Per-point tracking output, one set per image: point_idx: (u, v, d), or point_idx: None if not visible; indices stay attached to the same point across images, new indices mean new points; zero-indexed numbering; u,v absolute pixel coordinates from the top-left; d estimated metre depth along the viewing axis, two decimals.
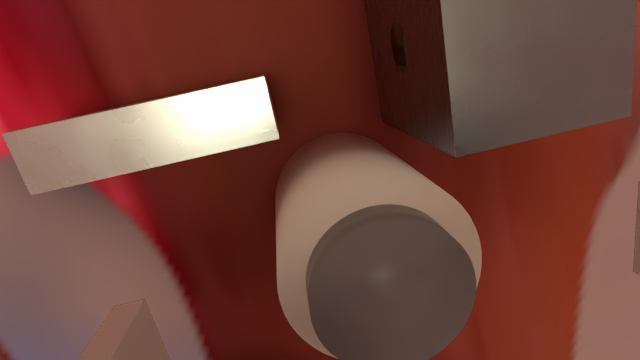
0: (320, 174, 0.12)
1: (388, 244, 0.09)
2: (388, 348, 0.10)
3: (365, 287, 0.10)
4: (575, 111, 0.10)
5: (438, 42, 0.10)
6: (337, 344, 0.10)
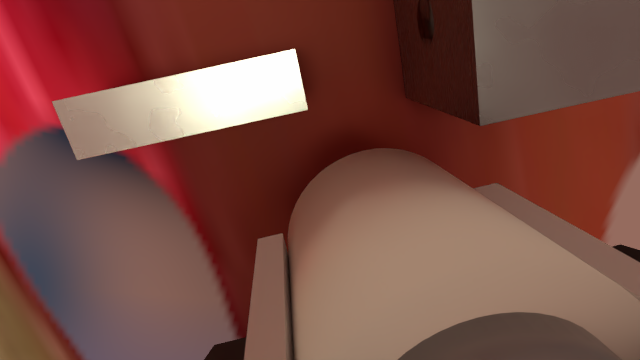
0: (370, 235, 0.07)
1: None
2: None
3: None
4: (599, 82, 0.10)
5: (466, 13, 0.10)
6: None
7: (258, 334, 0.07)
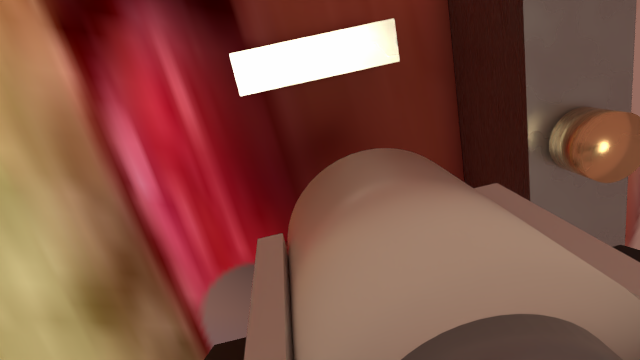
0: (371, 236, 0.07)
1: None
2: None
3: None
4: None
5: None
6: None
7: (258, 334, 0.07)
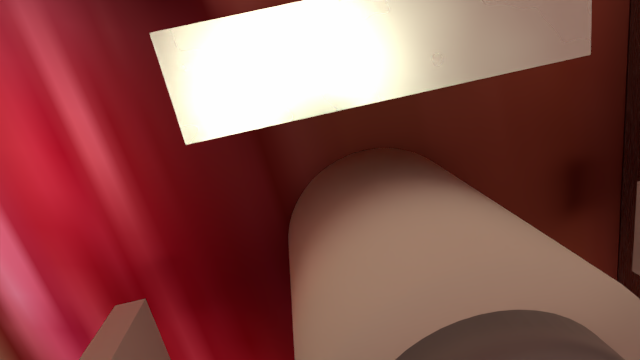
0: (370, 234, 0.07)
1: None
2: None
3: None
4: None
5: None
6: None
7: None
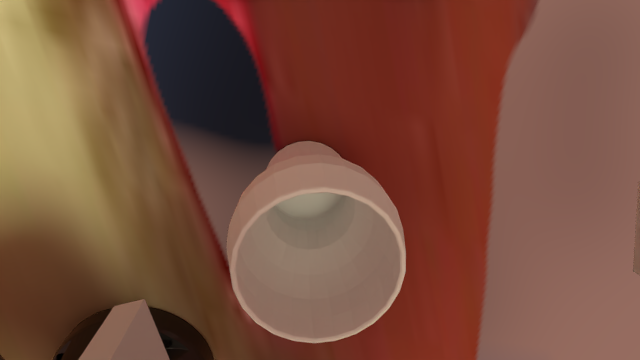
0: None
1: None
2: None
3: None
4: None
5: None
6: None
7: None
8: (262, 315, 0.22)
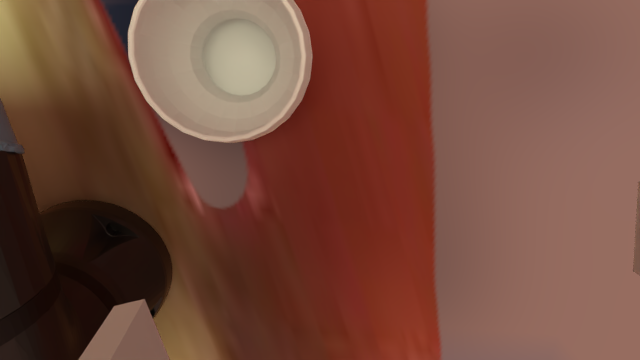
0: None
1: None
2: None
3: None
4: None
5: None
6: None
7: None
8: (172, 118, 0.22)
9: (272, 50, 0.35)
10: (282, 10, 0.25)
